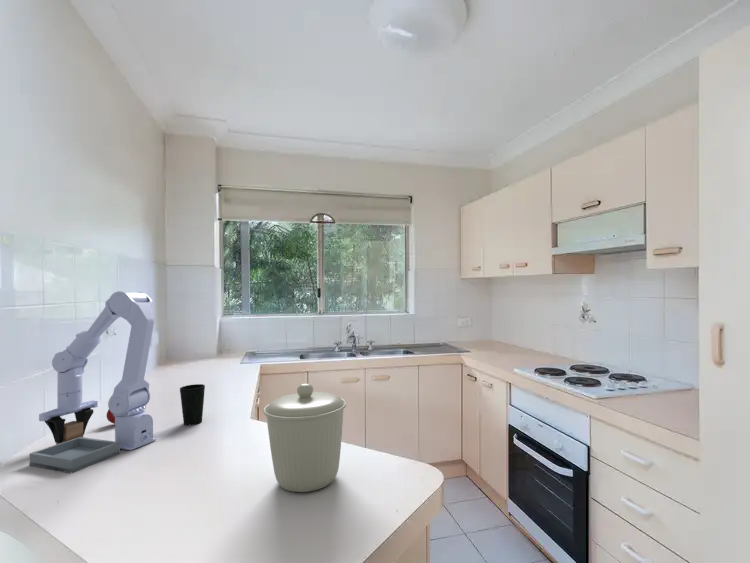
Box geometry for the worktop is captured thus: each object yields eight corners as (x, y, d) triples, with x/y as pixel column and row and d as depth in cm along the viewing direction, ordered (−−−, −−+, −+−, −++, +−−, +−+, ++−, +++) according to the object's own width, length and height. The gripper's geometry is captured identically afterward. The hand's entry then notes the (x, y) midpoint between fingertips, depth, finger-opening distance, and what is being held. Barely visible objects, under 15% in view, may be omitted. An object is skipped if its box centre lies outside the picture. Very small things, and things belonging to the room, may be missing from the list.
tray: (119, 453, 102) (119, 442, 102) (71, 473, 91) (71, 460, 91) (79, 447, 108) (80, 436, 108) (29, 465, 96) (29, 453, 96)
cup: (198, 426, 123) (198, 389, 124) (175, 426, 123) (175, 389, 124) (209, 418, 131) (208, 383, 131) (187, 419, 131) (187, 384, 131)
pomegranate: (110, 428, 124) (110, 403, 124) (104, 425, 127) (104, 401, 128) (130, 423, 128) (130, 399, 129) (123, 420, 132) (123, 397, 132)
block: (83, 442, 112) (83, 421, 112) (66, 448, 108) (66, 426, 108) (73, 441, 113) (73, 420, 114) (56, 446, 109) (56, 425, 109)
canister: (249, 482, 83) (247, 385, 84) (317, 456, 95) (314, 372, 96) (294, 514, 70) (291, 398, 71) (365, 479, 82) (362, 381, 84)
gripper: (86, 385, 119) (86, 429, 119) (32, 397, 106) (31, 446, 105) (102, 386, 117) (102, 431, 116) (48, 398, 103) (48, 449, 103)
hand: (69, 438), depth 111 cm, fingers open, 5 cm apart
